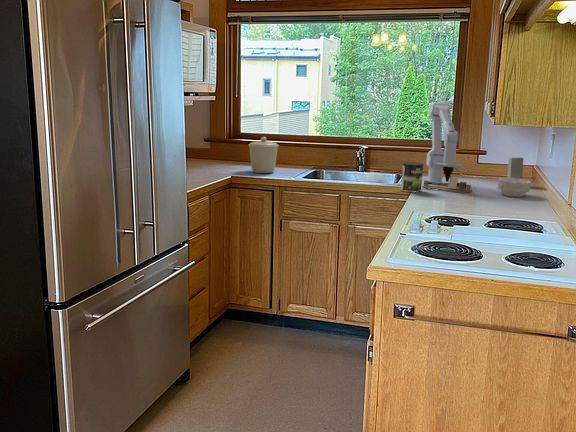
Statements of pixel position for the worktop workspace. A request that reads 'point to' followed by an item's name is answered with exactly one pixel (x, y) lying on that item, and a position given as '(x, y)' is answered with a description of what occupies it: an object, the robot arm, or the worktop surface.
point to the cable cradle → (461, 188)
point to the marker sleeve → (453, 182)
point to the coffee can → (411, 176)
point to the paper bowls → (514, 186)
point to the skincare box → (515, 167)
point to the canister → (263, 155)
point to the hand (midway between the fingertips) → (447, 181)
